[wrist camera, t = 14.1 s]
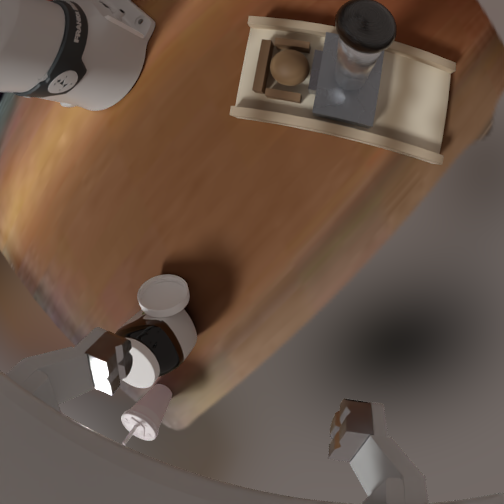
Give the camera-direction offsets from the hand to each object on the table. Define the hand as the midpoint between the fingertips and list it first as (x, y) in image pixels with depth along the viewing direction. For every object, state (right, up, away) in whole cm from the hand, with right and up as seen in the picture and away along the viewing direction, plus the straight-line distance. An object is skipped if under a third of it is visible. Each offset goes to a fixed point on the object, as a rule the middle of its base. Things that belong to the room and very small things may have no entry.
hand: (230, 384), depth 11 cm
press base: (+12, +23, +20) cm, 33 cm away
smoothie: (-15, -20, +40) cm, 47 cm away
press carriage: (+10, +23, +18) cm, 31 cm away
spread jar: (-11, -4, +34) cm, 36 cm away
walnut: (+5, +23, +17) cm, 29 cm away
